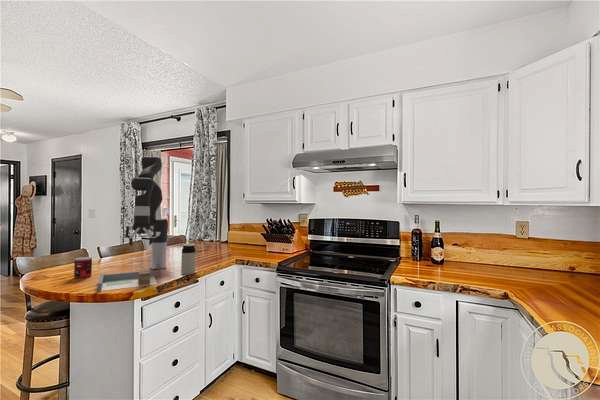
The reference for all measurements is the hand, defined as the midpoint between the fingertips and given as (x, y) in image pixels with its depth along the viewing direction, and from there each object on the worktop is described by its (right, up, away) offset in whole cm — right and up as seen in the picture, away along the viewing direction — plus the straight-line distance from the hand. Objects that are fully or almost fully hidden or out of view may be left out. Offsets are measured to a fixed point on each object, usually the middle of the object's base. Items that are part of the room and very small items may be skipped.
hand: (140, 245), depth 151 cm
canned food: (-40, -21, +12) cm, 47 cm away
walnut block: (+1, -20, +1) cm, 20 cm away
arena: (-7, -21, +1) cm, 22 cm away
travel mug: (+15, -22, +25) cm, 37 cm away
